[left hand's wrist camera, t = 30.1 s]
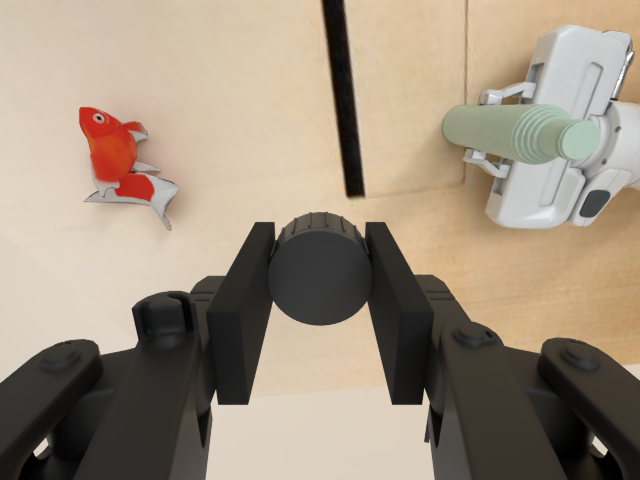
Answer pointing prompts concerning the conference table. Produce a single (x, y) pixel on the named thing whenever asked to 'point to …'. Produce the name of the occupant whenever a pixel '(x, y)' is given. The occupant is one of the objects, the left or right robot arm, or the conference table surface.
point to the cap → (320, 269)
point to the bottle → (522, 132)
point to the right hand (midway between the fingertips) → (473, 127)
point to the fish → (122, 164)
